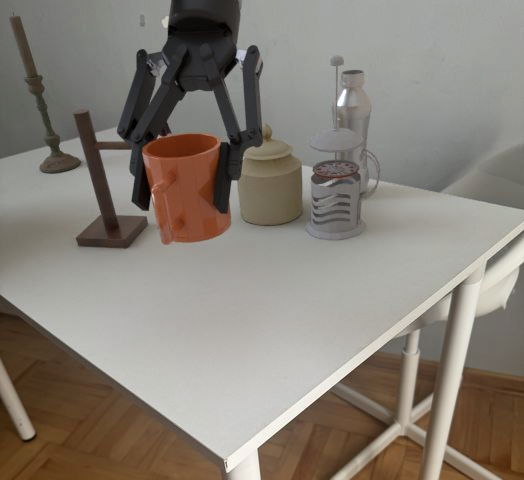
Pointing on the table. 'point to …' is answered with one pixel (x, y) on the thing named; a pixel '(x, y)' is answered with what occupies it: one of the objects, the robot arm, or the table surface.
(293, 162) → the sugar bowl
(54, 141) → the candlestick holder
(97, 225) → the mug stand
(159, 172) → the mug
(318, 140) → the french press
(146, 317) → the table surface
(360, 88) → the silver metal bottle
